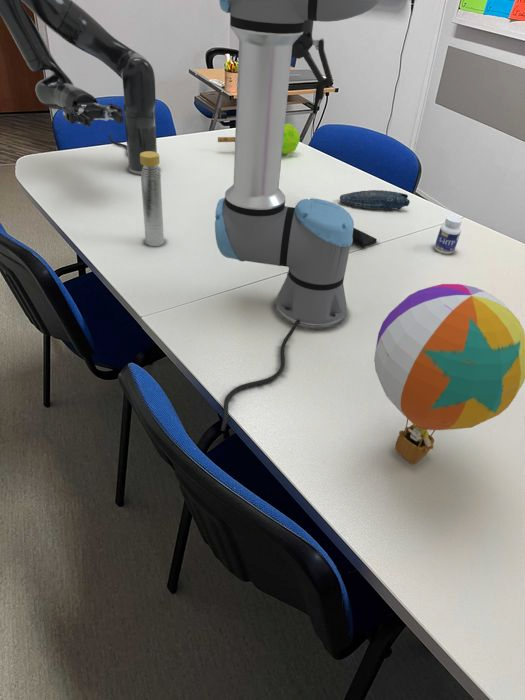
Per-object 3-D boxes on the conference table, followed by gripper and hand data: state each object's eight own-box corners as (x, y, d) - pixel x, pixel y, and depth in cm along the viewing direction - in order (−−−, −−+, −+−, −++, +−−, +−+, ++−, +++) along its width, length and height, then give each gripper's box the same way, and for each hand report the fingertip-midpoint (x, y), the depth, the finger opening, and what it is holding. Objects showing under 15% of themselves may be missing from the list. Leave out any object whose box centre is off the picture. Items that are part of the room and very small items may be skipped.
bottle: (156, 236, 134) (151, 151, 121) (167, 242, 132) (163, 156, 119) (141, 241, 132) (135, 155, 118) (153, 248, 129) (147, 160, 116)
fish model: (408, 214, 157) (412, 198, 153) (339, 207, 158) (341, 191, 154) (406, 206, 162) (410, 190, 159) (339, 199, 163) (341, 183, 160)
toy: (323, 444, 83) (359, 283, 64) (398, 394, 94) (448, 243, 75) (425, 531, 72) (504, 368, 53) (497, 463, 83) (584, 307, 64)
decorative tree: (215, 117, 188) (295, 117, 193) (215, 147, 195) (292, 146, 200) (221, 131, 174) (307, 131, 180) (221, 163, 181) (304, 161, 186)
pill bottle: (433, 251, 139) (442, 220, 133) (435, 243, 143) (444, 213, 137) (453, 256, 138) (464, 225, 132) (454, 247, 142) (465, 217, 136)
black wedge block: (381, 233, 141) (372, 211, 133) (369, 255, 140) (359, 235, 132) (344, 225, 147) (334, 203, 139) (333, 246, 146) (321, 226, 138)
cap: (151, 158, 122) (150, 149, 120) (163, 164, 120) (162, 155, 118) (136, 162, 119) (135, 153, 118) (148, 167, 117) (147, 158, 116)
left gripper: (50, 90, 133) (76, 107, 124) (102, 87, 141) (130, 103, 131) (54, 121, 138) (79, 139, 128) (105, 117, 145) (132, 133, 136)
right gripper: (351, 16, 123) (337, 111, 137) (248, 5, 125) (244, 100, 139) (351, 20, 118) (336, 118, 131) (243, 8, 119) (238, 107, 133)
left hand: (105, 121), depth 130 cm, fingers open, 8 cm apart
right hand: (288, 109), depth 135 cm, fingers open, 13 cm apart
